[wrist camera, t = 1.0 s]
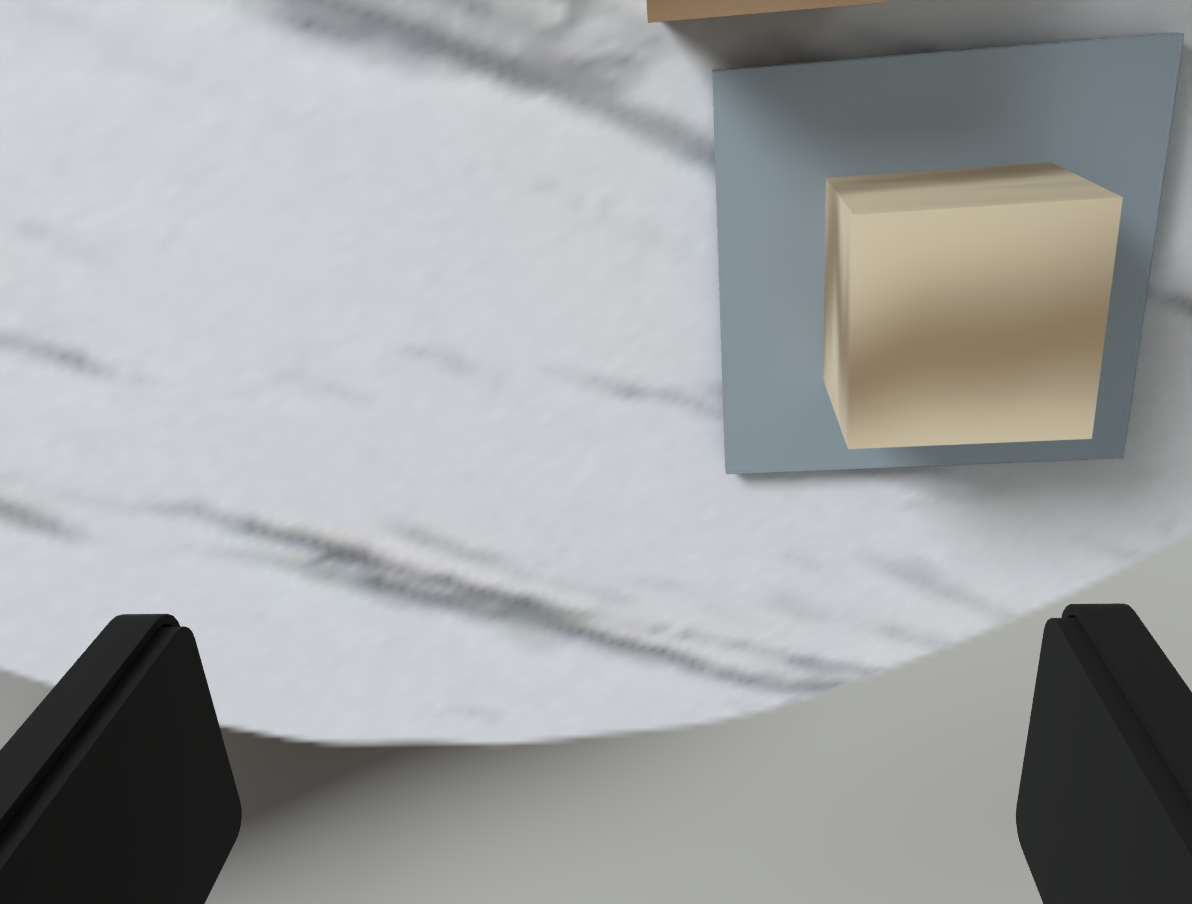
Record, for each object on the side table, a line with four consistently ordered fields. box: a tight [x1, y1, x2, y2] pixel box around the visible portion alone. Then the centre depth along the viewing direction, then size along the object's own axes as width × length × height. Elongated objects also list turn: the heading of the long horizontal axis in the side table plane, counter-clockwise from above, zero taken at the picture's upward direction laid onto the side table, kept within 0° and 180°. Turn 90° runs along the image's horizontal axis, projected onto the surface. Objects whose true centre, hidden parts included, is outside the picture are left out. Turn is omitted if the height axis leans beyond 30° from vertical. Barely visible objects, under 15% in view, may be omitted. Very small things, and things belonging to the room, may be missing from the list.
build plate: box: [712, 33, 1184, 474], centre depth 30 cm, size 12×12×1 cm
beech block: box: [823, 162, 1123, 449], centre depth 27 cm, size 6×6×5 cm
